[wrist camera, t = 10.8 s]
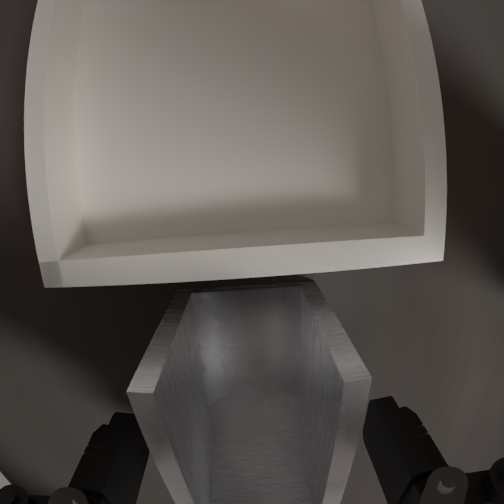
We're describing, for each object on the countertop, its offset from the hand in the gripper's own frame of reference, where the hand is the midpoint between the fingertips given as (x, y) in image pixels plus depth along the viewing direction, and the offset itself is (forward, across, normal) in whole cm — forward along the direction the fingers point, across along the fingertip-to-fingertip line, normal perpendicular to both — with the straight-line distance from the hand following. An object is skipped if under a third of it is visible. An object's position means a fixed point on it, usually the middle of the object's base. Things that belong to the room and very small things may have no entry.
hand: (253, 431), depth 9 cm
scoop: (+3, 0, 0) cm, 3 cm away
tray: (+3, 0, -13) cm, 13 cm away
